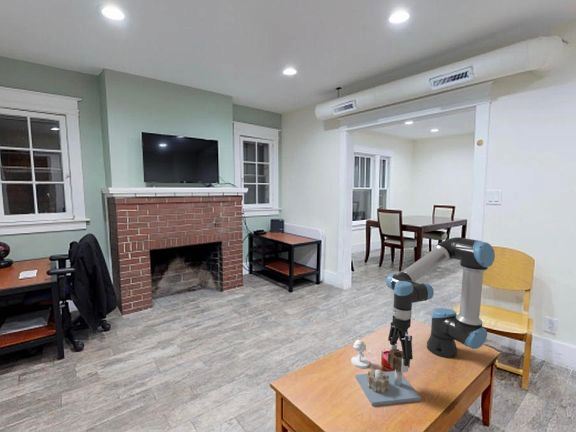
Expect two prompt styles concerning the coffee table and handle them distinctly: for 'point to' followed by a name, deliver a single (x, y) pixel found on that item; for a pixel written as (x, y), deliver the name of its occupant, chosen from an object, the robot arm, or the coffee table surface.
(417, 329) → the coffee table surface
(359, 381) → the gear board
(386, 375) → the gear
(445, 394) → the coffee table surface
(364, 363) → the figurine
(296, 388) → the coffee table surface
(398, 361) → the walnut gear
